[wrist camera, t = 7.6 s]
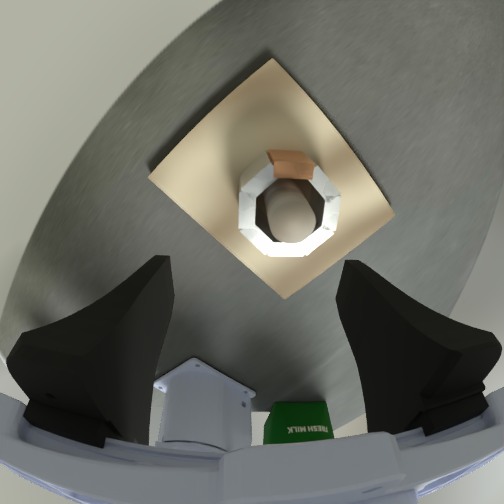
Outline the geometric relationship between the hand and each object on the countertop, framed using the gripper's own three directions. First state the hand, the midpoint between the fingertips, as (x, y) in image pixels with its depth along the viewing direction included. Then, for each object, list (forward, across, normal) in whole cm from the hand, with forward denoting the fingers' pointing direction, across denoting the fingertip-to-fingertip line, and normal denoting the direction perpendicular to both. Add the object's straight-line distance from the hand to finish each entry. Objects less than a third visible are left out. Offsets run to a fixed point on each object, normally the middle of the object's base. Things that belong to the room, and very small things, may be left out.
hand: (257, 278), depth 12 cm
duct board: (+9, -2, -1) cm, 10 cm away
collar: (+8, -2, -1) cm, 9 cm away
